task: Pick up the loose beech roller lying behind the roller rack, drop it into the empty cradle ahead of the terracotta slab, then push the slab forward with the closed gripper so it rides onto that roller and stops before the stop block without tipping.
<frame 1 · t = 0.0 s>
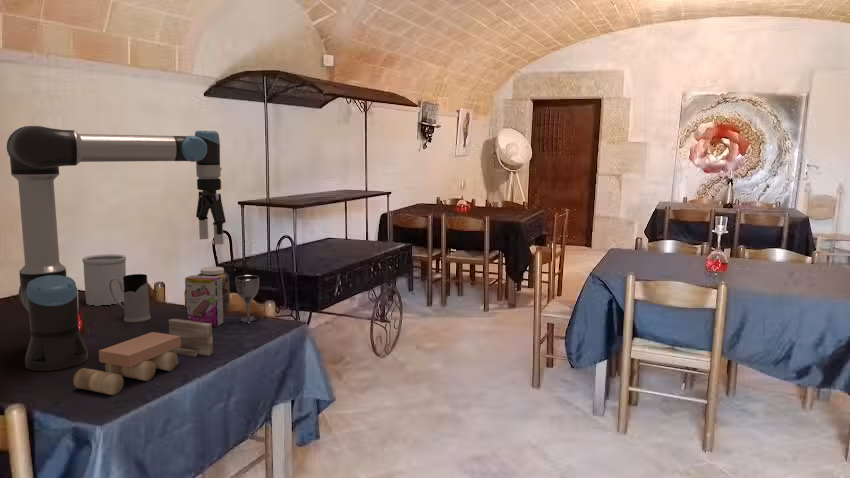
hand: (211, 241, 214), 28 cm above the table, fingers open, 13 cm apart
slab: (141, 353, 169), point 5 cm above the table, touching roller rack
utensil holder: (107, 302, 244), on the table
candy bar box: (205, 325, 215), on the table
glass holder: (130, 318, 222), on the table
white cup: (67, 321, 218), on the table
jar: (213, 309, 236), on the table
roller loose: (99, 391, 157), on the table
roller rack: (154, 367, 174), on the table
wine glass: (248, 320, 222), on the table
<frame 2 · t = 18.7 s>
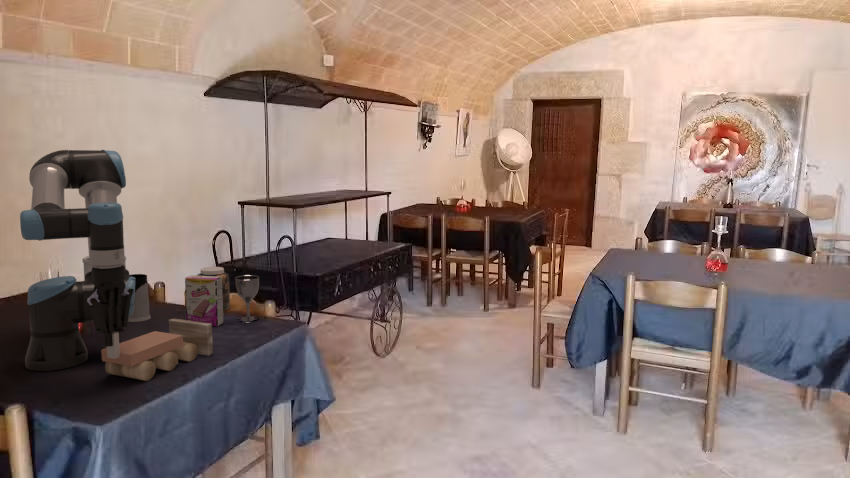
hand: (113, 357, 161), 7 cm above the table, fingers closed
slab: (144, 353, 170), point 5 cm above the table
roller loose: (177, 357, 182), on the table, tilted 10°
everything else where it was.
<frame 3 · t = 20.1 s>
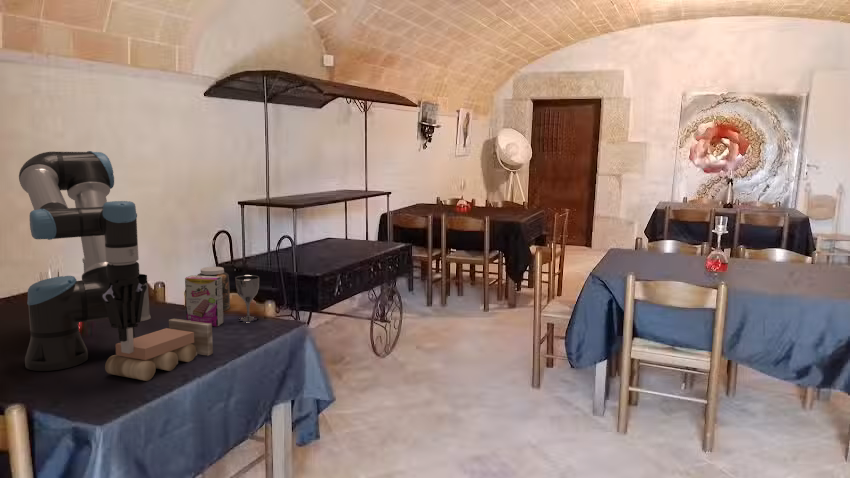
hand: (127, 352, 165), 7 cm above the table, fingers closed
slab: (156, 348, 174), point 5 cm above the table, touching gripper, roller loose, roller rack
roller loose: (177, 357, 182), on the table, tilted 23°, touching slab
everything else where it was.
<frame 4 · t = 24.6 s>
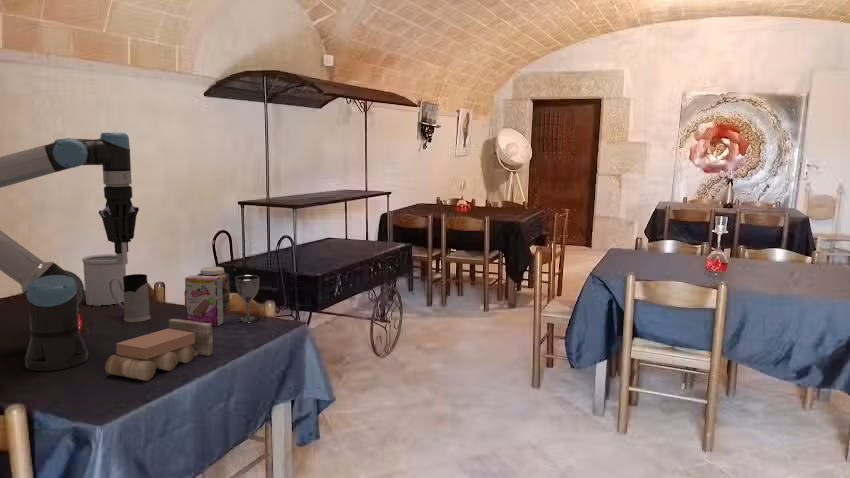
hand: (122, 263, 192), 24 cm above the table, fingers closed
slab: (157, 348, 174), point 5 cm above the table, touching roller loose, roller rack
roller loose: (175, 359, 181), on the table, tilted 17°, touching slab
everything else where it was.
at the end: slab moved 5.3 cm from its start; slab touching roller loose, roller rack; roller loose touching slab, table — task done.
